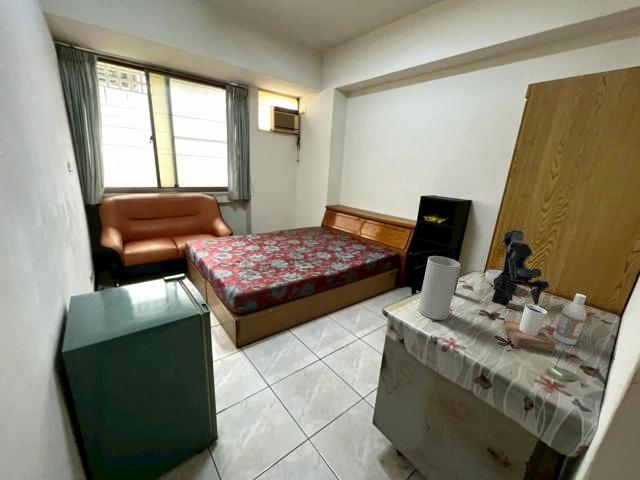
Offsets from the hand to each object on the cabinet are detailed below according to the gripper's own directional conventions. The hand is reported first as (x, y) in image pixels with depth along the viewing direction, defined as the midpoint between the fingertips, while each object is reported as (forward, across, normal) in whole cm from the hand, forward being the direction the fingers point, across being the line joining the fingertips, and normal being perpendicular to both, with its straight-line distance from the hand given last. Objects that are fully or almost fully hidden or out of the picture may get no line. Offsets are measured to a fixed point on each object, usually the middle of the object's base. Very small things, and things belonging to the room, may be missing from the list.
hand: (523, 302), depth 107 cm
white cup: (+12, 0, +1) cm, 12 cm away
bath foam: (+11, +17, +7) cm, 21 cm away
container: (-10, -19, +28) cm, 36 cm away
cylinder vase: (+8, -33, +10) cm, 35 cm away
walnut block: (+14, 0, +3) cm, 15 cm away
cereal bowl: (-24, +14, +43) cm, 51 cm away
